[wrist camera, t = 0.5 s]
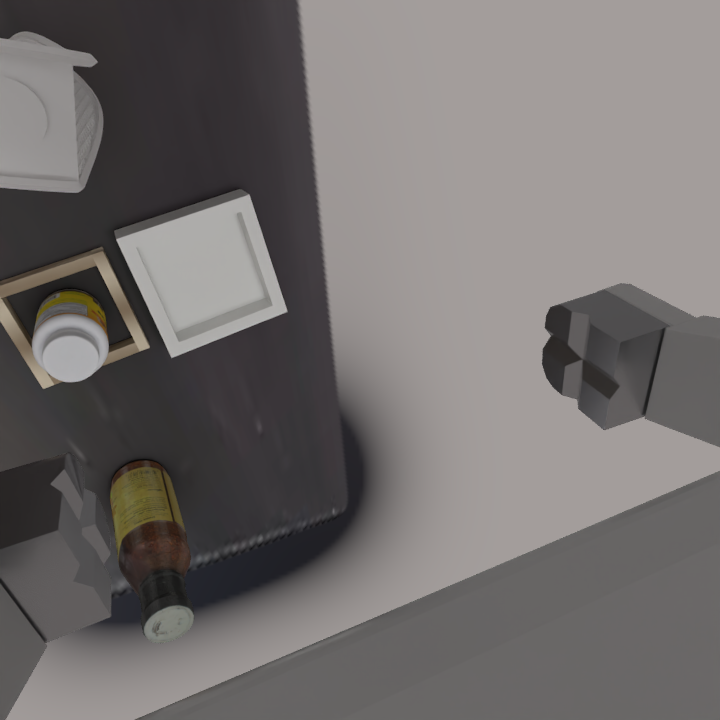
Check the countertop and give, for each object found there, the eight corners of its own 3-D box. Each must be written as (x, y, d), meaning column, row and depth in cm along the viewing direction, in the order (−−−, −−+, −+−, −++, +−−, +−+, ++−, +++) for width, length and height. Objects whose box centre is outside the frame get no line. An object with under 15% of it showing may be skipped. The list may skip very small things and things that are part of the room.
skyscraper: (43, 22, 43) (-2, -53, 20) (120, 108, 47) (158, 130, 24) (-37, 92, 42) (-177, 98, 19) (49, 172, 47) (16, 255, 24)
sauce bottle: (96, 489, 60) (102, 640, 43) (137, 447, 60) (158, 582, 43) (146, 514, 63) (168, 663, 47) (184, 475, 63) (220, 609, 47)
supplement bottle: (103, 345, 54) (107, 393, 46) (36, 341, 51) (27, 391, 43) (107, 289, 52) (113, 328, 44) (38, 283, 50) (30, 323, 41)
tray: (113, 230, 50) (116, 239, 47) (240, 188, 53) (249, 194, 50) (167, 344, 56) (171, 357, 54) (277, 300, 59) (287, 311, 57)
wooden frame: (-16, 286, 48) (-18, 292, 47) (102, 246, 50) (102, 251, 49) (44, 381, 53) (43, 389, 52) (148, 341, 56) (149, 347, 54)
